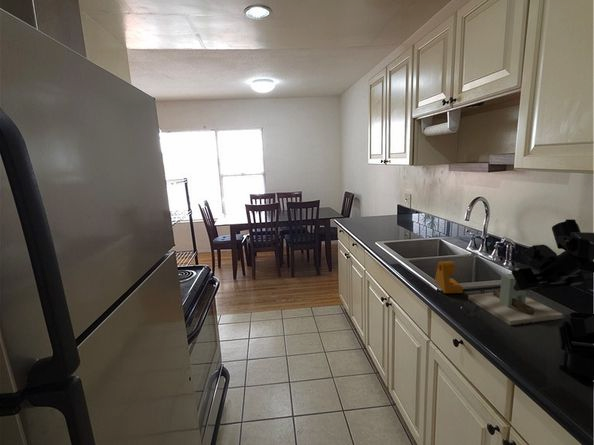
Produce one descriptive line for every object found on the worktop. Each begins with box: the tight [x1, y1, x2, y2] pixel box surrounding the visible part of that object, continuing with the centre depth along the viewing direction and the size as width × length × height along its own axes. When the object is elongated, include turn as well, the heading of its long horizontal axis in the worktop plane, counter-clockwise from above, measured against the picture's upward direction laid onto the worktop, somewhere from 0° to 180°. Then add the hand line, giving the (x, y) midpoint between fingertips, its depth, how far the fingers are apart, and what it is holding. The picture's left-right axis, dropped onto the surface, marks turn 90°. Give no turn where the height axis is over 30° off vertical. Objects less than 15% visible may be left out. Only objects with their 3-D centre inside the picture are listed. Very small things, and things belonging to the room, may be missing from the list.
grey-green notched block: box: [499, 273, 527, 308], centre depth 113 cm, size 4×6×10 cm, turn 98°
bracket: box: [434, 260, 464, 294], centre depth 131 cm, size 11×7×12 cm, turn 176°
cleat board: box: [467, 289, 563, 326], centre depth 114 cm, size 20×19×4 cm
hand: (528, 287), depth 98 cm, fingers open, 9 cm apart
